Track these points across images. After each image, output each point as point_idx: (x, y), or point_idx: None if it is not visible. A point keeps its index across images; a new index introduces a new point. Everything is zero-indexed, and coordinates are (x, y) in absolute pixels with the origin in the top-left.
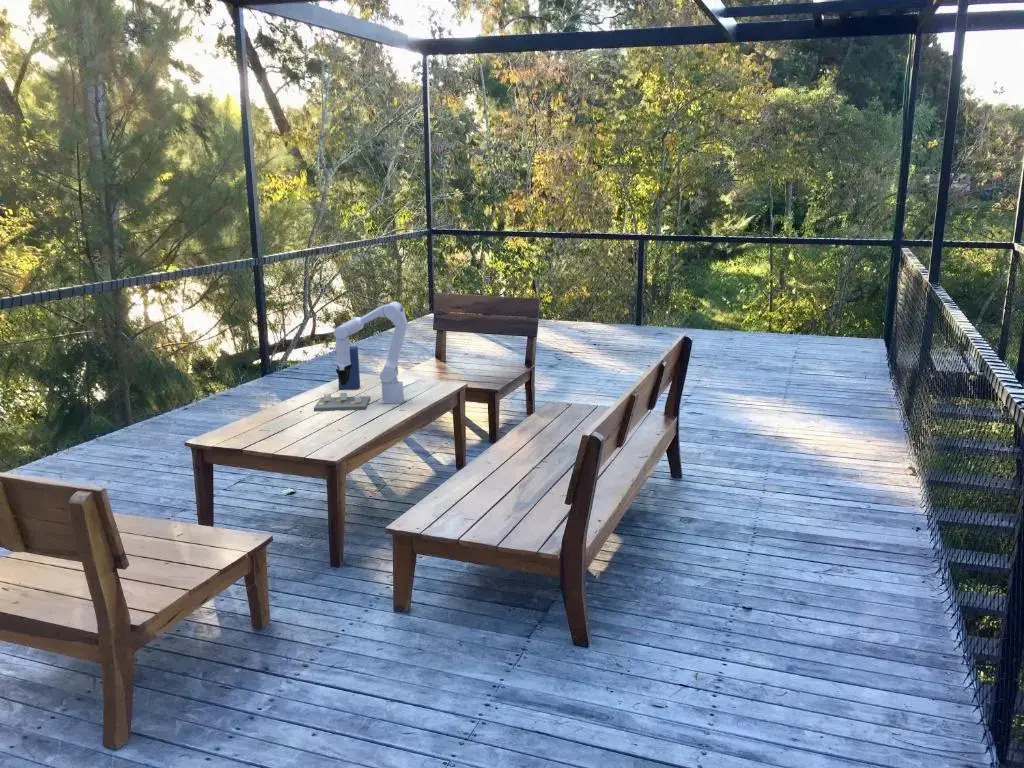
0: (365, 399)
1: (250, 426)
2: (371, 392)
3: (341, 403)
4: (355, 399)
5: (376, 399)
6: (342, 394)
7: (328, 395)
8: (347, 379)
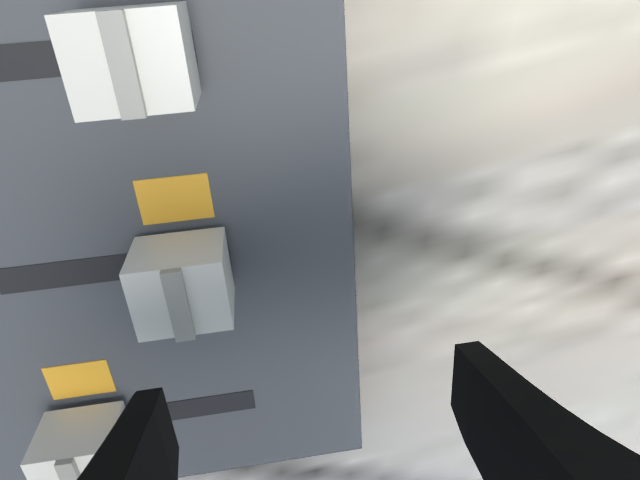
0: (230, 445)
1: None
2: (618, 365)
3: (12, 277)
4: (34, 448)
5: (351, 460)
6: (145, 301)
7: (70, 101)
8: (461, 415)
